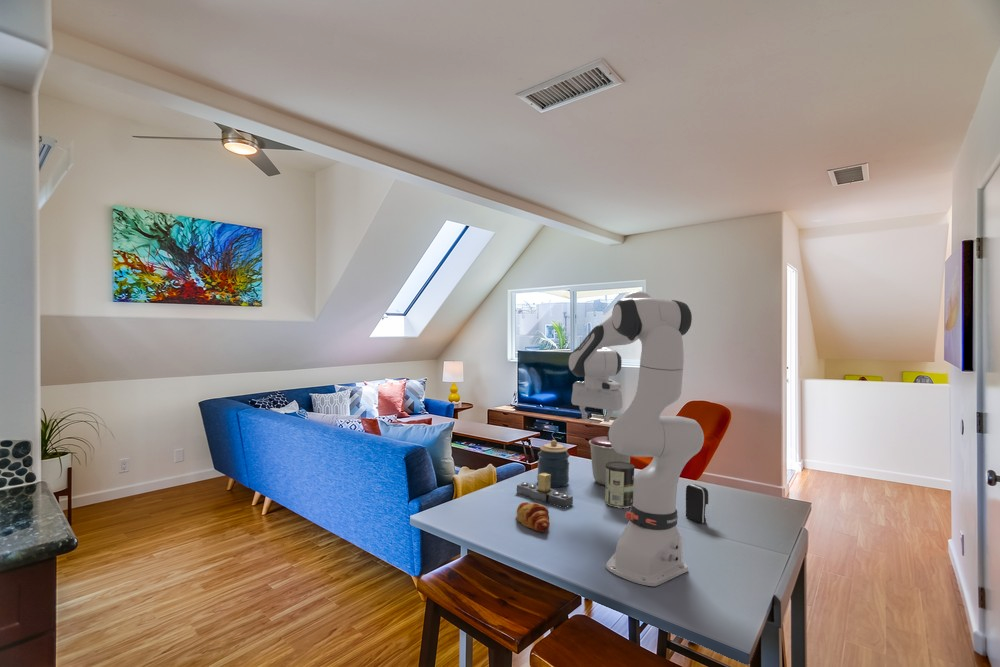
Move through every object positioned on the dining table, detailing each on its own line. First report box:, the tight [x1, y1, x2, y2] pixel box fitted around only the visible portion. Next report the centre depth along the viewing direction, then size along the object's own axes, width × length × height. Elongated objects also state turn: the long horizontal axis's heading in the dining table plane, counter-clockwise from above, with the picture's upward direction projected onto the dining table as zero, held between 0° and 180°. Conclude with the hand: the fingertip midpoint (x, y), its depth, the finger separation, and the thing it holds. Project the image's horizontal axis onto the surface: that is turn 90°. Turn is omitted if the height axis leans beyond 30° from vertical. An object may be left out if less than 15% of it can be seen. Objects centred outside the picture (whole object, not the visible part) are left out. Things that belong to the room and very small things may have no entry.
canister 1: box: [536, 439, 571, 488], centre depth 195 cm, size 13×13×18 cm
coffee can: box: [604, 461, 636, 509], centre depth 173 cm, size 10×10×14 cm
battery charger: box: [685, 483, 709, 524], centre depth 159 cm, size 7×4×11 cm, turn 26°
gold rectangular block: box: [537, 473, 551, 493], centre depth 176 cm, size 3×3×9 cm
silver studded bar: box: [516, 481, 574, 509], centre depth 176 cm, size 7×22×4 cm, turn 48°
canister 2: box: [588, 431, 632, 486], centre depth 198 cm, size 18×18×21 cm
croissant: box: [516, 502, 551, 533], centre depth 154 cm, size 21×10×8 cm, turn 19°
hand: (595, 419), depth 179 cm, fingers open, 8 cm apart
